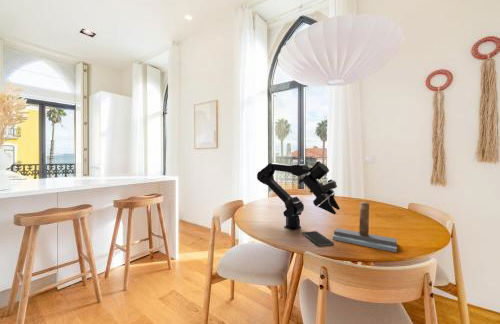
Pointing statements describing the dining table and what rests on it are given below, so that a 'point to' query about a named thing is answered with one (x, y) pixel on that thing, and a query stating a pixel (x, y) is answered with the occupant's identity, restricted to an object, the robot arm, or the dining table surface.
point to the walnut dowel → (364, 219)
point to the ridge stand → (366, 240)
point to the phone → (317, 238)
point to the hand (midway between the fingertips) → (337, 211)
